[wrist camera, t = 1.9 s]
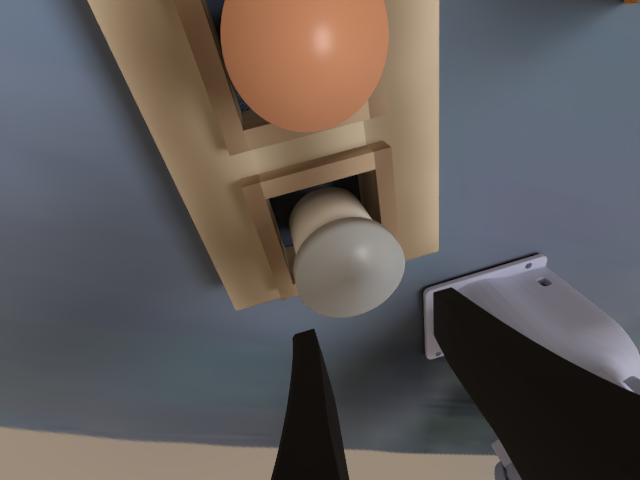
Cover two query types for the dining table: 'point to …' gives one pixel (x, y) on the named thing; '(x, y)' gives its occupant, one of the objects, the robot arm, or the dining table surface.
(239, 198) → the socket board
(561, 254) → the dining table surface
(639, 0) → the supplement box
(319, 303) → the grey plug
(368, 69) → the rust plug
